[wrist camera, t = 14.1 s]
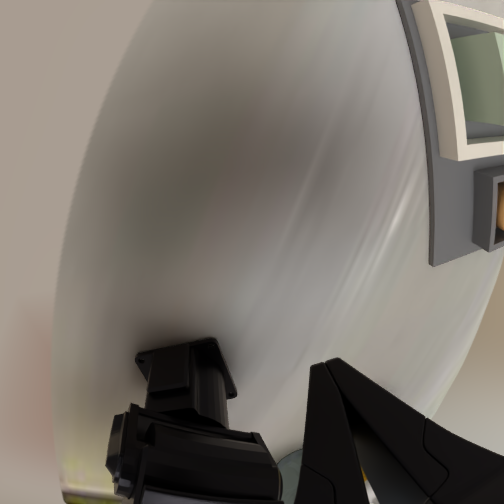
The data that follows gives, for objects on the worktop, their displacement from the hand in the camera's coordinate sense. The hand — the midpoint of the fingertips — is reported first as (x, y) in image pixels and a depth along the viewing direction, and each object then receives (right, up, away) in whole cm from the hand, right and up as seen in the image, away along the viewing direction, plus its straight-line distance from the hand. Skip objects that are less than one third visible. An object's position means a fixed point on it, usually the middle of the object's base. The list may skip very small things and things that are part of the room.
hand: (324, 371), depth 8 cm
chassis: (+15, +13, +10) cm, 22 cm away
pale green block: (+14, +16, +8) cm, 23 cm away
